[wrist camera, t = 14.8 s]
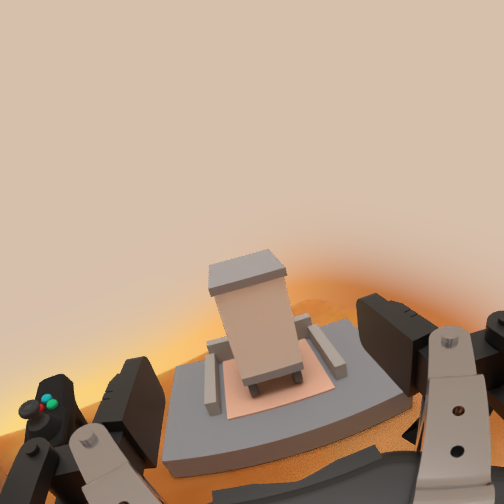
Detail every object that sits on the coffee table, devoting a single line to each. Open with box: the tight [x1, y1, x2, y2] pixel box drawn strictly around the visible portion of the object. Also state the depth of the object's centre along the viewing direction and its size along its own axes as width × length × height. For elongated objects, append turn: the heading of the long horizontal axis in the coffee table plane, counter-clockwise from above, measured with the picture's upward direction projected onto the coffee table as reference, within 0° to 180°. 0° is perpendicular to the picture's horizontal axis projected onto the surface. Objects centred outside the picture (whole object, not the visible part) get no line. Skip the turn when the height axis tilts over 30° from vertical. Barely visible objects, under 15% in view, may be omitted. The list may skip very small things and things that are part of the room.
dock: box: [162, 313, 413, 478], centre depth 25 cm, size 20×14×5 cm
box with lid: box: [209, 249, 304, 396], centre depth 24 cm, size 5×6×11 cm
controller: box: [19, 374, 87, 448], centre depth 18 cm, size 4×12×10 cm, turn 31°
